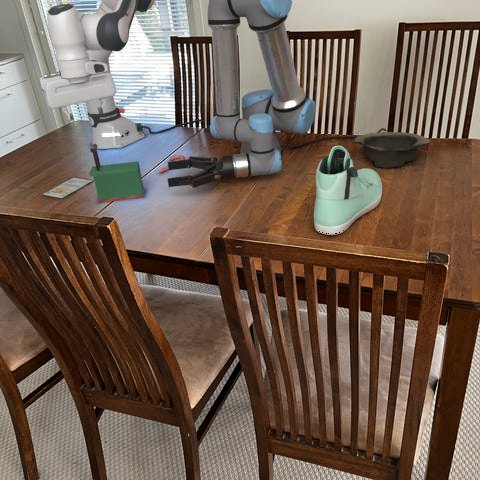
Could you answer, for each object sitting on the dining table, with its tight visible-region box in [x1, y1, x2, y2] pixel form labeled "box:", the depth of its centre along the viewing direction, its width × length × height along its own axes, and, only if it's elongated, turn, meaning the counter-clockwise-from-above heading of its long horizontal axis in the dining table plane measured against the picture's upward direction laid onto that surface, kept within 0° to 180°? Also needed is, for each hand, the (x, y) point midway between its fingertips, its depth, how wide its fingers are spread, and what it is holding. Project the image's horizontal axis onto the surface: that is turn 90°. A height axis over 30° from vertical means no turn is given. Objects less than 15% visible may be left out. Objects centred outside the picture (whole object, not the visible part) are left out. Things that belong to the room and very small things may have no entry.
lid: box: [89, 144, 140, 177], centre depth 150 cm, size 15×6×9 cm, turn 97°
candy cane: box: [158, 154, 186, 174], centre depth 176 cm, size 6×15×2 cm, turn 145°
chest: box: [92, 165, 145, 203], centre depth 155 cm, size 14×6×9 cm, turn 97°
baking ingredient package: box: [42, 177, 92, 199], centre depth 165 cm, size 9×1×15 cm
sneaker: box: [313, 145, 383, 236], centre depth 133 cm, size 14×35×20 cm, turn 152°
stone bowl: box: [354, 131, 431, 169], centre depth 165 cm, size 25×25×9 cm
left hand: (86, 116), depth 143 cm, fingers open, 8 cm apart
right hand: (168, 174), depth 154 cm, fingers open, 13 cm apart
